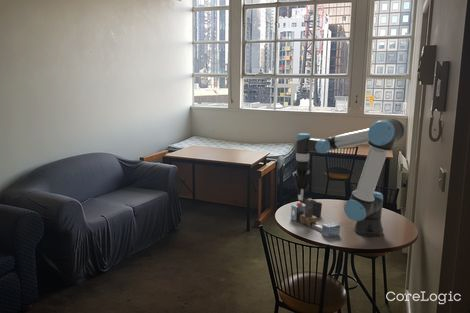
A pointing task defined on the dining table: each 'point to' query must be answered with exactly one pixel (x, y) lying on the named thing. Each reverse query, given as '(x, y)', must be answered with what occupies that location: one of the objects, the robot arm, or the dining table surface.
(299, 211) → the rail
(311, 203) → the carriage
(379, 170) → the robot arm
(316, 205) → the camera
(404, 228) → the dining table surface
